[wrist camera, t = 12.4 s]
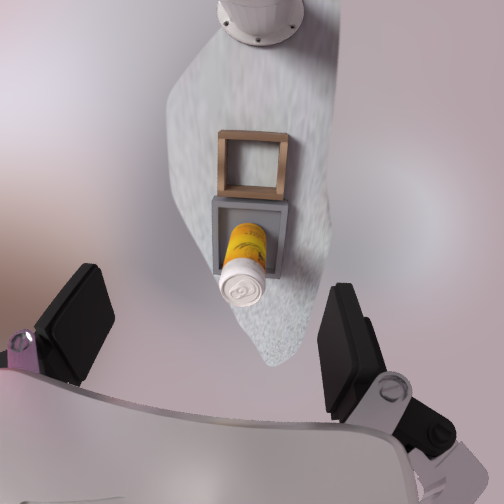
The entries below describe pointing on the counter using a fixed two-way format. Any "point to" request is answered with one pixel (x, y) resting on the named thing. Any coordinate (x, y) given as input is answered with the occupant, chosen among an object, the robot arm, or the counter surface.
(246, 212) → the tray
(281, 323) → the counter surface
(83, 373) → the robot arm
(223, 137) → the collar
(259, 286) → the beer can
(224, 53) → the counter surface
